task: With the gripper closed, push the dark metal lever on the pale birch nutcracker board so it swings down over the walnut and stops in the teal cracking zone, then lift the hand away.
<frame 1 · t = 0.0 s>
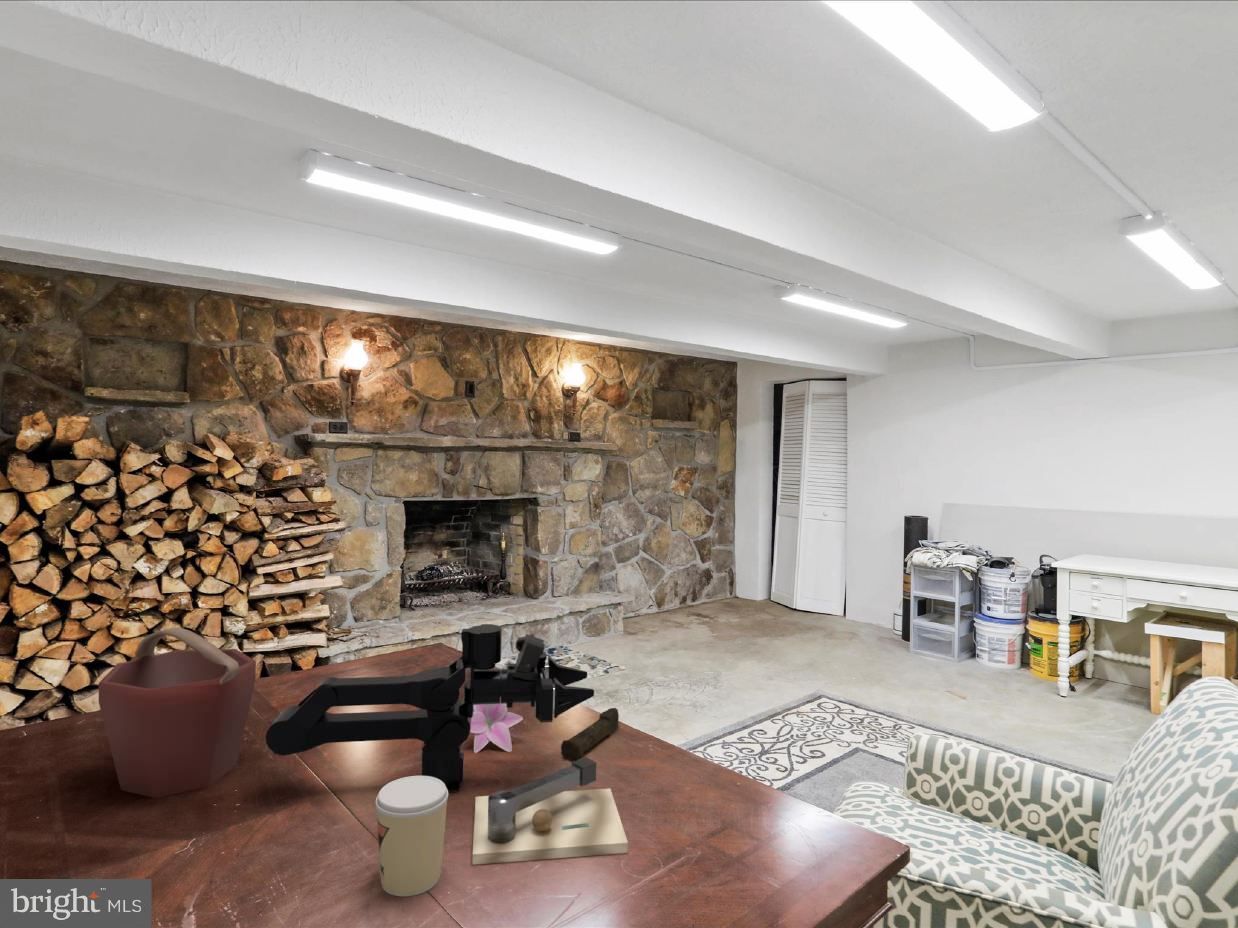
hand: (590, 683, 125), 17 cm above the table, tool horizontal, fingers open, 9 cm apart
bucket: (177, 775, 123), on the table
lever: (543, 797, 109), point 5 cm above the table, hinge at 35.0°
wooden log: (592, 743, 140), on the table
lidded canister: (411, 879, 95), on the table
lily: (489, 745, 138), on the table
nutcracker board: (547, 827, 109), on the table
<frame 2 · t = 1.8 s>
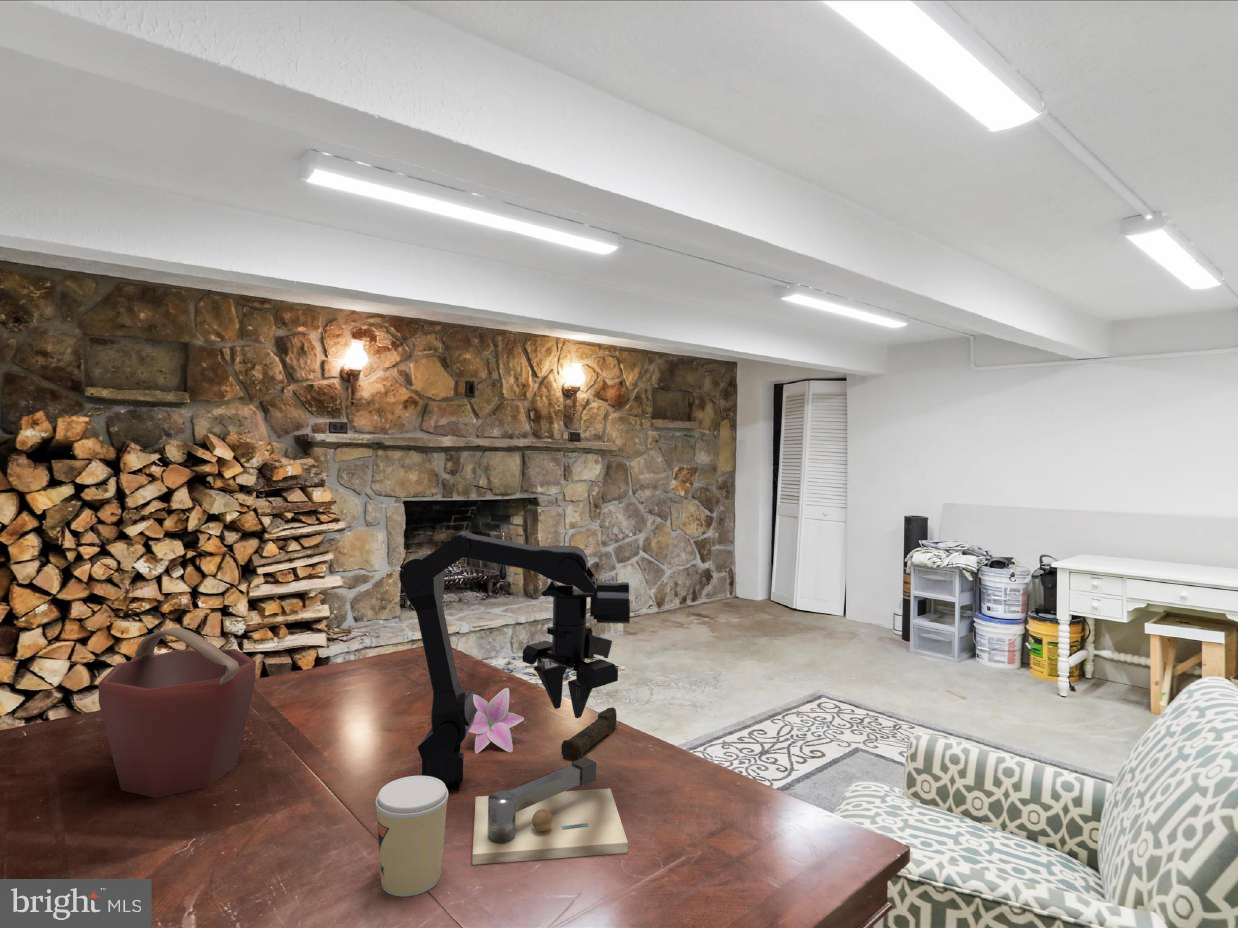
hand: (567, 712, 121), 13 cm above the table, tool pointing down, fingers open, 5 cm apart
nothing on the table moved.
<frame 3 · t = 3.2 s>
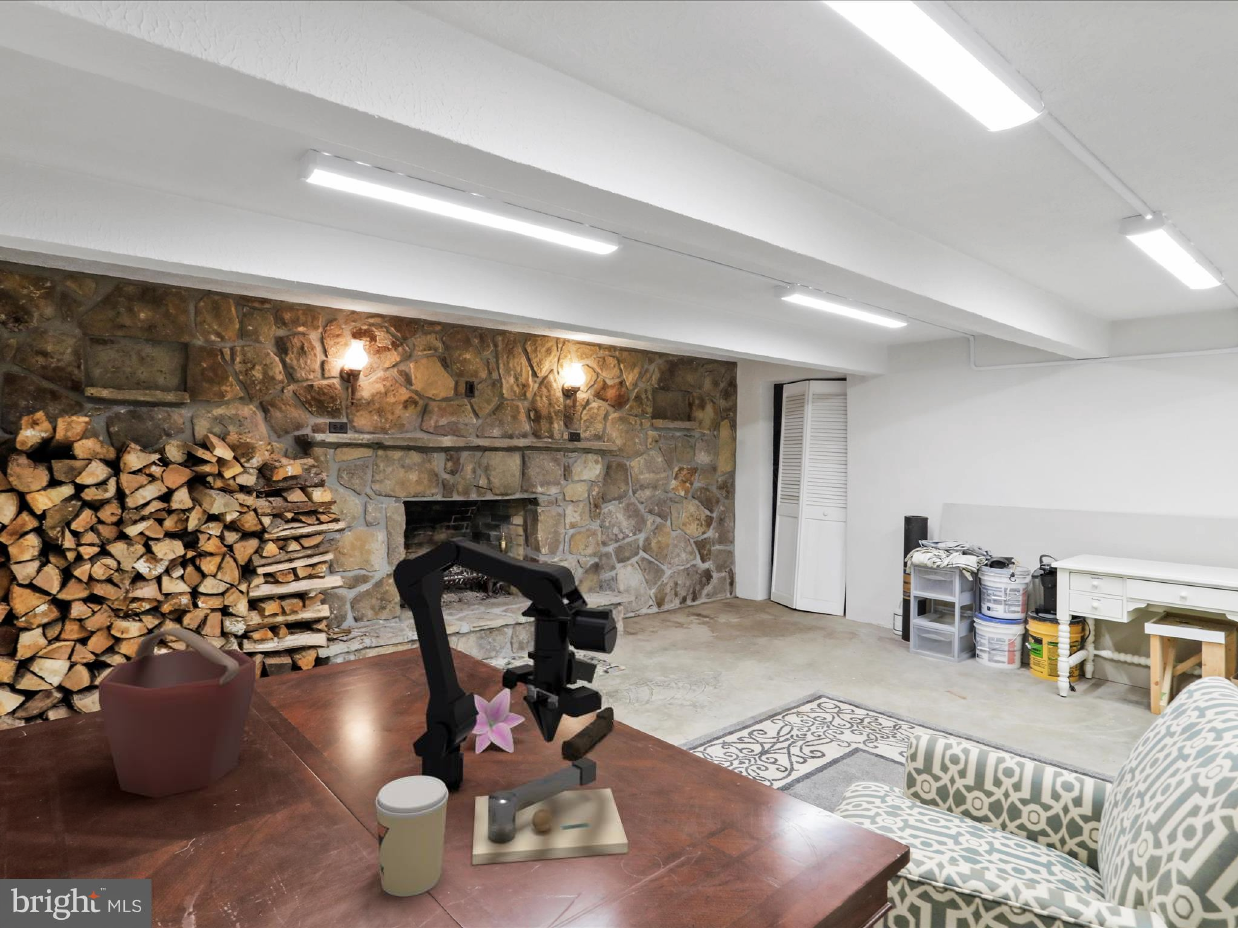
hand: (548, 741, 115), 11 cm above the table, tool pointing down, fingers closed
nothing on the table moved.
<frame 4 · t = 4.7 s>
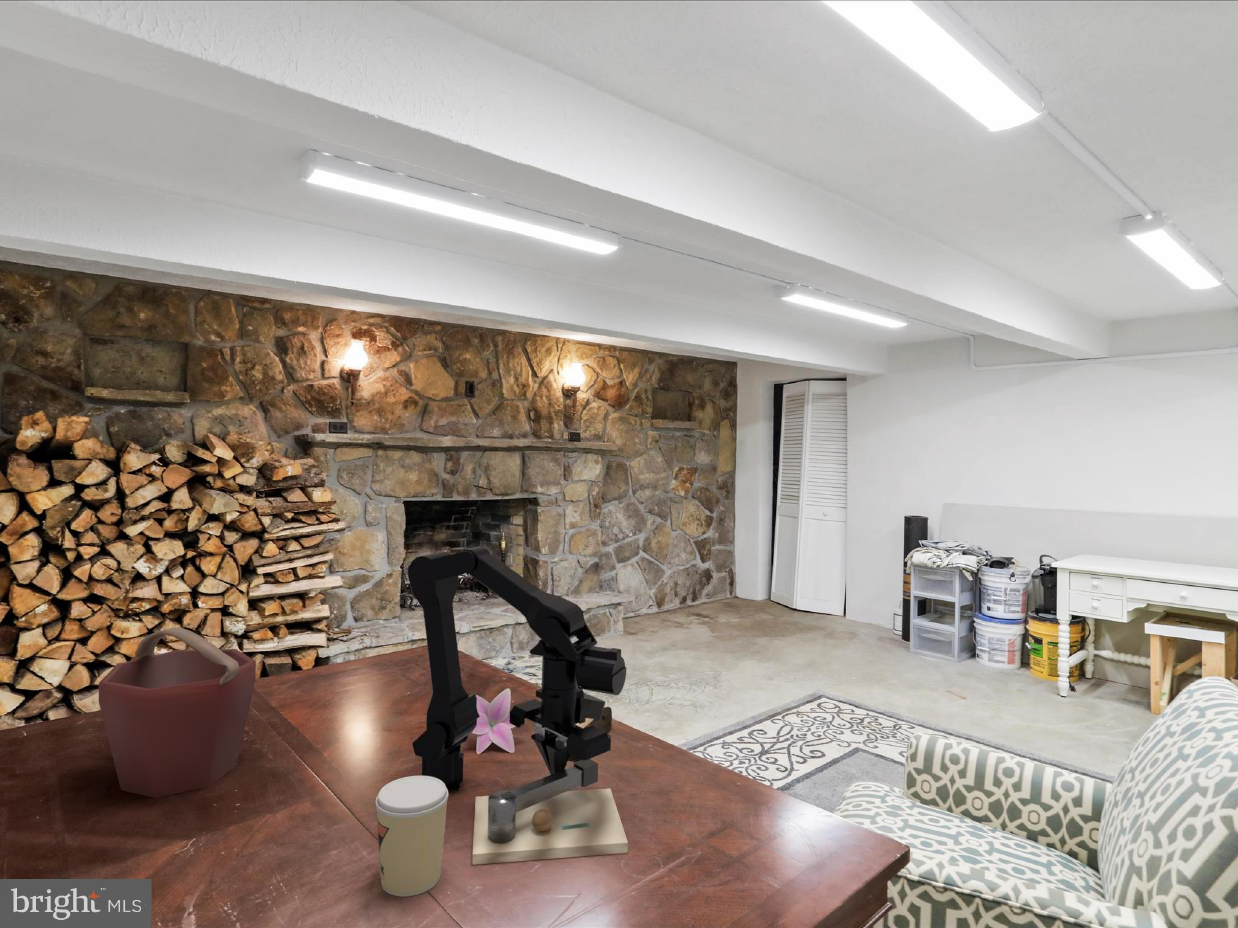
hand: (557, 780, 113), 5 cm above the table, tool pointing down, fingers closed
lever: (544, 797, 109), point 5 cm above the table, hinge at 33.5°, touching gripper
everything else where it was.
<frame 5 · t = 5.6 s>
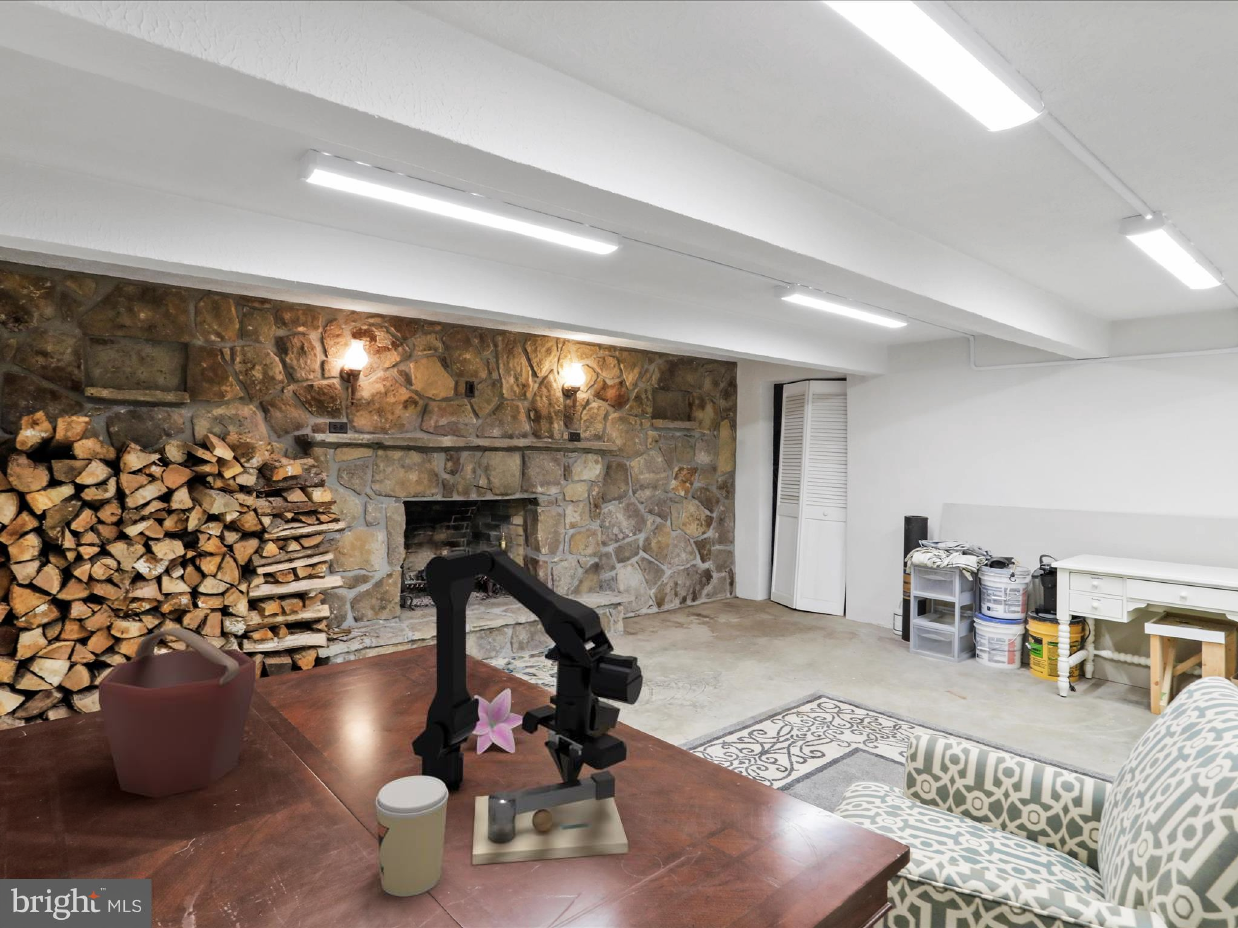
hand: (570, 788, 111), 5 cm above the table, tool pointing down, fingers closed
lever: (552, 804, 107), point 5 cm above the table, hinge at 15.4°, touching gripper
everything else where it was.
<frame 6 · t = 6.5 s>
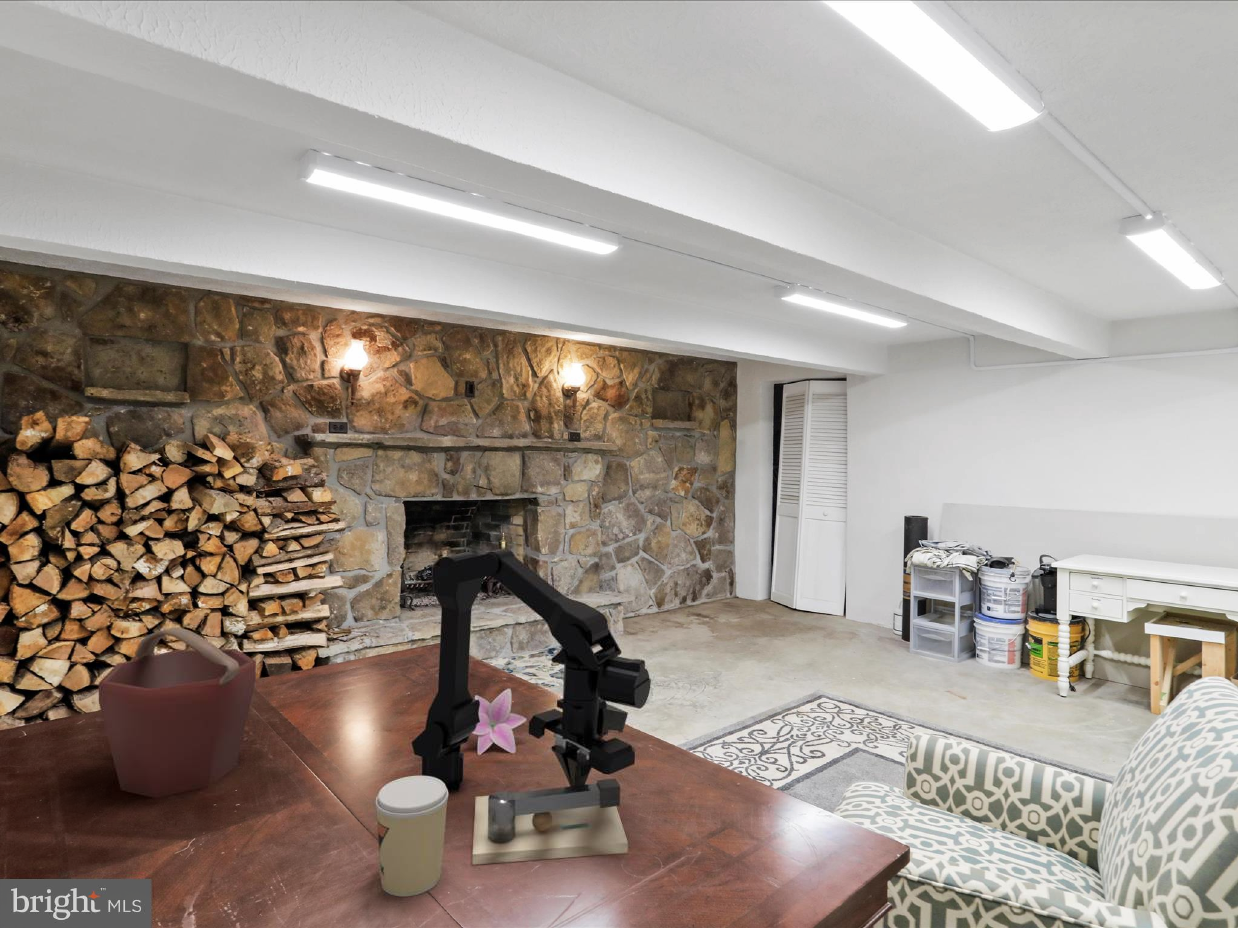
hand: (577, 793, 109), 5 cm above the table, tool pointing down, fingers closed
lever: (554, 808, 105), point 5 cm above the table, hinge at 6.5°, touching gripper
everything else where it was.
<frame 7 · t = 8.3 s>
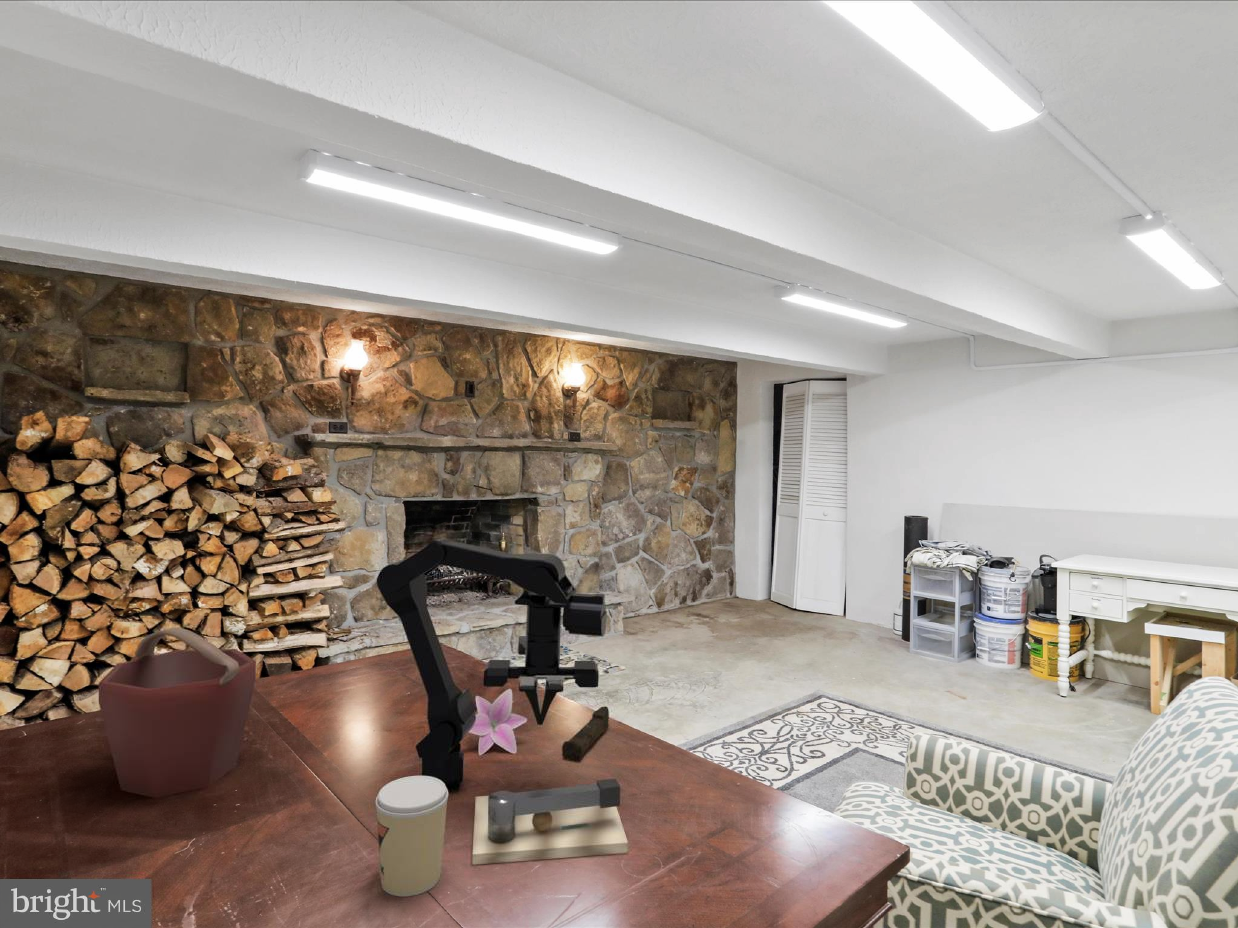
hand: (540, 723, 119), 12 cm above the table, tool pointing down, fingers closed
lever: (554, 808, 105), point 5 cm above the table, hinge at 6.2°
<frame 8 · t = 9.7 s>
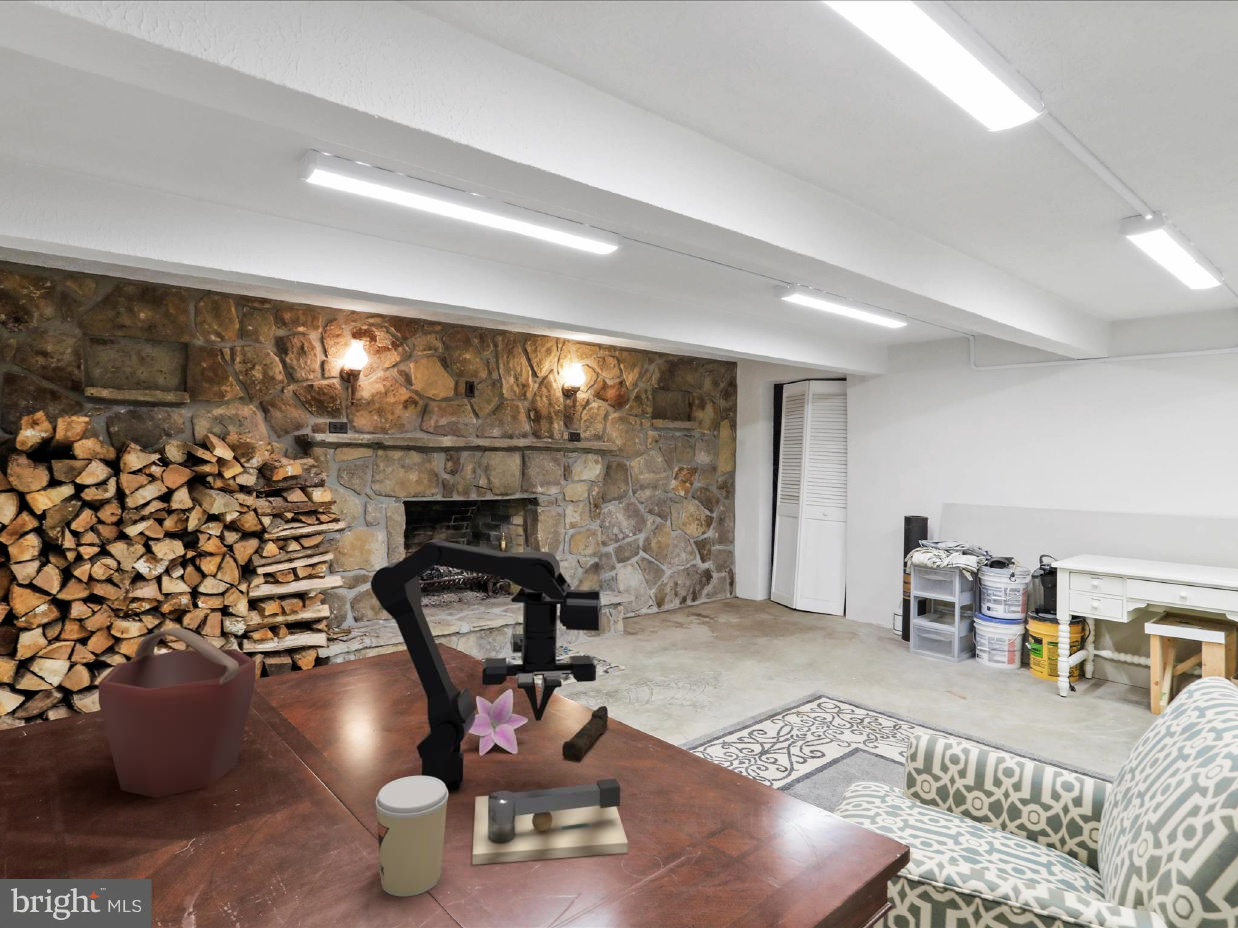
hand: (538, 719, 120), 12 cm above the table, tool pointing down, fingers closed
at the end: lever at +6° (first picture: +35°) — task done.
